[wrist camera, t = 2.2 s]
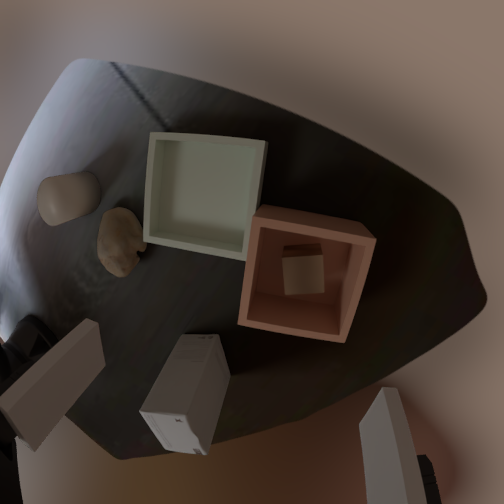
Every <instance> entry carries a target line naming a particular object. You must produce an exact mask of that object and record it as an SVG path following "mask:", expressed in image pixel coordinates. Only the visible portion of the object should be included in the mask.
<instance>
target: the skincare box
mask: <svg viewBox="0 0 504 504" xmlns="http://www.w3.org/2000/svg"><path fill="white" fill-rule="evenodd" d="M230 376H231V375H230V371H229V368H228V365H227V361H226V358H225V354H224V351H223V347H222V344H221V341H220V337H219V335H218V334H210V335H200V334H183V335H181V336H180V338H179V340H178V342H177V344H176V345H175V347H174V349H173V351H172V353H171V354H170V356H169V358H168V360H167V361H166V363H165V365H164V367H163V369H162V371H161V372H160V374H159V376H158V378H157V380H156V382H155V383H154V385H153V387H152V389H151V391H150V393H149V394H148V396H147V398H146V400H145V402H144V404H143V405H142V407H141V409H140V410H139V412H140V413H141V415H142V416H143V418H144V419H145V421H146V422H147V424H148V425H149V427H150V428H151V430H152V431H153V433H154V434H155V435H156V437H157V438H158V440H159V441H160V443H161V444H162V445H163V447H164V448H165V449H166V450H171V451H177V452H184V453H192V454H201V455H207V454H208V452H209V449H210V445H211V442H212V438H213V435H214V431H215V428H216V425H217V421H218V418H219V414H220V411H221V407H222V404H223V400H224V397H225V393H226V390H227V386H228V383H229V379H230Z"/></svg>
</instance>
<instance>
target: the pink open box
mask: <svg viewBox="0 0 504 504" xmlns="http://www.w3.org/2000/svg"><path fill="white" fill-rule="evenodd" d="M316 243H320V244H321V249H322V253H323V267H324V293H310V294H294V295H285V288H284V277H283V267H282V253H283V248H284V246H289V245H302V244H316ZM375 243H376V238H375V237H374V236H373V235H372V234H371V233H370V232H369V231H368V229H367V228H366V227H365V226H364V225H363V224H362V223H361V222H357V221H353V220H348V219H343V218H338V217H333V216H328V215H322V214H317V213H312V212H306V211H301V210H295V209H290V208H284V207H278V206H272V205H266V204H262V205H261V206H260V208H259V209H258V210H257V211H256V212H255V214H254V215H253V216H252V223H251V230H250V237H249V245H248V252H247V259H246V266H245V274H244V281H243V289H242V296H241V303H240V311H239V318H238V325H242V326H247V327H252V328H257V329H262V330H268V331H273V332H278V333H284V334H290V335H296V336H301V337H308V338H314V339H320V340H327V341H334V342H341V343H345V340H346V338H347V335H348V332H349V329H350V326H351V323H352V321H353V318H354V315H355V312H356V309H357V306H358V302H359V299H360V296H361V293H362V290H363V286H364V283H365V280H366V276H367V273H368V269H369V266H370V262H371V258H372V255H373V251H374V247H375Z"/></svg>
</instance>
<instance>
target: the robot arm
mask: <svg viewBox="0 0 504 504" xmlns="http://www.w3.org/2000/svg"><path fill="white" fill-rule="evenodd" d="M104 367H105V360H104V354H103V349H102V343H101V337H100V331H99V324H98V323H97V322H95V321H92V320H90V319H87V318H86V319H85V320H84V321H82V322H81V323H80V324H79V325H78V326H77V327H75V328H74V329H73V330H72V331H71V332H70V333H68V334H67V335H66V336H65V337H64V338H63V339H62V340H60V341H59V342H58V340H57V339H56V337H55V336H54V335H53V333H52V332H51V331H50V330H49V329H48V328H47V327H46V326H45V325H44V324H43V323H42V322H41V321H40V320H38V319H37V318H35V317H32V316H26V317H25V318H23V319H22V320H20V321H19V322H18V324H17V326H16V328H15V329H14V331H13V332H12V334H11V335H10V337H9V339H8V340H7V341H6V342H5V343H4V344H3V345H1V344H0V504H23V500H22V494H21V488H20V481H19V474H18V463H17V449H16V441H15V439H14V438H15V437H16V436H18V437H19V439H20V440H21V442H22V443H24V444H25V445H26V446H27V447H28V448H30V449H31V450H32V451H34V452H35V451H36V450H37V449H38V447H39V446H40V445H41V443H42V442H43V441H44V440H45V438H46V437H47V436H48V434H49V433H50V432H51V431H52V429H53V428H54V427H55V426H56V424H57V423H58V422H59V421H60V419H61V418H62V417H63V416H64V415H65V413H66V412H67V411H68V410H69V408H70V407H71V406H72V405H73V404H74V402H75V401H76V400H77V399H78V397H79V396H80V395H81V394H82V393H83V391H84V390H85V389H86V388H87V387H88V386H89V384H90V383H91V382H92V381H93V380H94V378H95V377H96V376H97V375H98V374H99V373H100V371H101V370H102V369H103V368H104ZM359 428H360V434H361V443H362V451H363V460H364V469H365V479H366V491H367V504H442V503H441V499H440V494H439V490H438V485H437V484H436V482H437V481H436V477H435V476H434V474H435V473H434V470H433V466H432V463H431V462H430V460H429V459H428V458H427V456H426V455H416V452H415V448H414V444H413V440H412V437H411V433H410V430H409V426H408V423H407V419H406V416H405V412H404V409H403V406H402V403H401V399H400V397H399V393H398V390H397V388H387V387H382V389H381V390H380V392H379V394H378V395H377V397H376V399H375V400H374V402H373V404H372V405H371V407H370V408H369V410H368V412H367V413H366V415H365V416H364V418H363V419H362V421H361V422H360V424H359Z"/></svg>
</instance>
